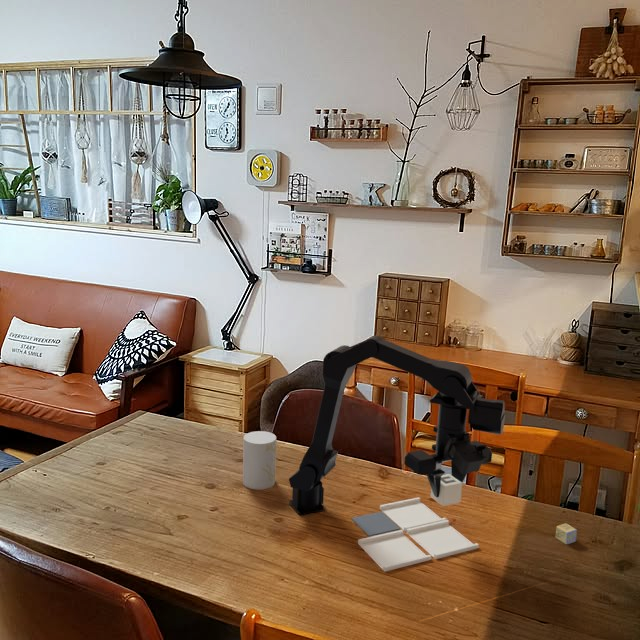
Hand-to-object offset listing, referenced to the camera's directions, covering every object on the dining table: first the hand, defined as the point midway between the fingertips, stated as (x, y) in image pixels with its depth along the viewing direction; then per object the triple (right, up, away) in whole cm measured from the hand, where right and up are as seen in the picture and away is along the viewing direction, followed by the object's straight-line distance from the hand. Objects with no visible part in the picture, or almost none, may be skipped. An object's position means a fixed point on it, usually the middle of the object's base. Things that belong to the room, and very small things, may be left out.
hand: (445, 494), depth 136 cm
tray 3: (0, -11, +2) cm, 11 cm away
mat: (-14, -9, +8) cm, 18 cm away
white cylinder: (-42, -4, +26) cm, 50 cm away
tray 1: (-5, -8, +12) cm, 16 cm away
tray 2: (-11, -11, -3) cm, 16 cm away
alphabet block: (+27, -12, +5) cm, 30 cm away
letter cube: (0, -1, 0) cm, 1 cm away
